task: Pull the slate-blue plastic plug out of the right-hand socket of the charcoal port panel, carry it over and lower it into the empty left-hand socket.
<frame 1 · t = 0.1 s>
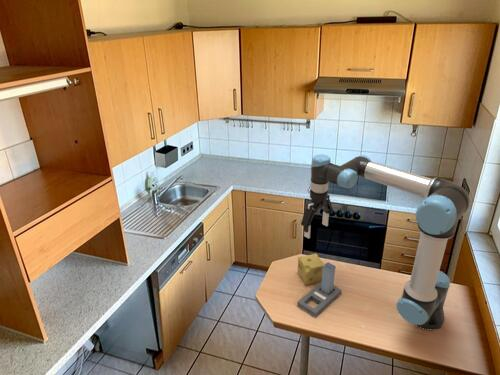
hand: (316, 230, 172), 28 cm above the table, fingers open, 13 cm apart
port panel: (319, 299, 172), on the table
cheese: (310, 277, 186), on the table
plug: (326, 293, 175), resting in port panel
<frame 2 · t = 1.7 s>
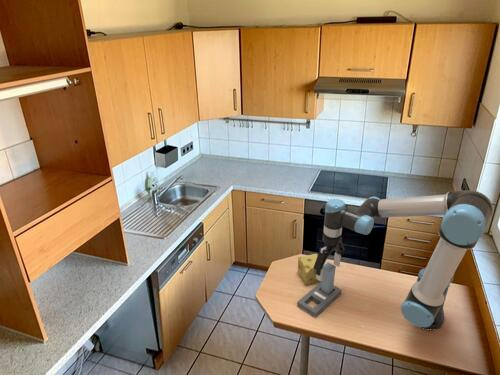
hand: (327, 272, 170), 12 cm above the table, fingers open, 13 cm apart
nothing on the table moved.
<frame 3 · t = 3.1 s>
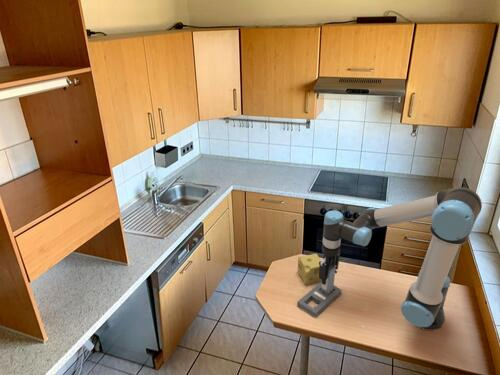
hand: (327, 285, 173), 5 cm above the table, fingers closed on plug, 4 cm apart
plug: (326, 293, 175), resting in port panel, touching gripper
everything else where it was.
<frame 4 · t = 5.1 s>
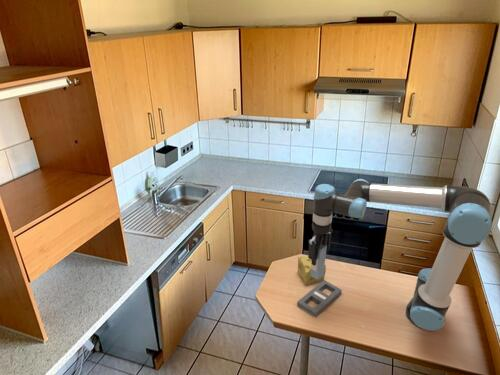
hand: (317, 267, 161), 20 cm above the table, fingers closed on plug, 4 cm apart
plug: (317, 275, 163), point 15 cm above the table, touching gripper
everything else where it was.
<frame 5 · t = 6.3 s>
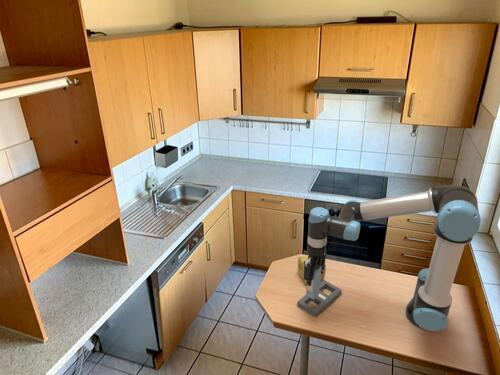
hand: (313, 287, 163), 11 cm above the table, fingers closed on plug, 4 cm apart
plug: (312, 295, 166), point 6 cm above the table, touching gripper
everything else where it was.
when the fingers open (6 cm above the table, at t = 7.4 s): plug drops 1 cm, resting in port panel.
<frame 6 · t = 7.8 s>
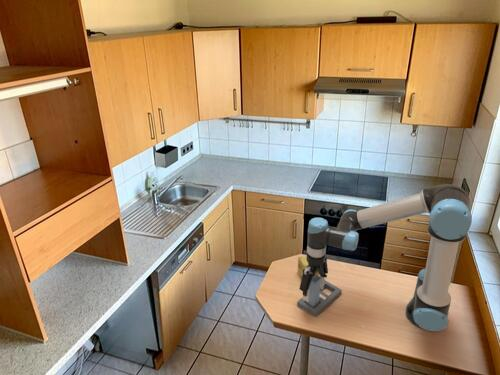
hand: (313, 293, 165), 7 cm above the table, fingers open, 10 cm apart
plug: (312, 306, 168), resting in port panel
everything else where it was.
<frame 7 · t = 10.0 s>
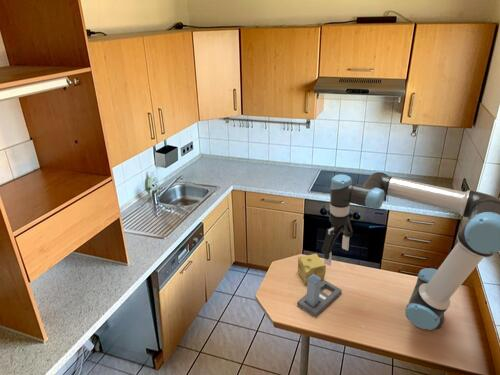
hand: (336, 256, 158), 26 cm above the table, fingers open, 13 cm apart
nothing on the table moved.
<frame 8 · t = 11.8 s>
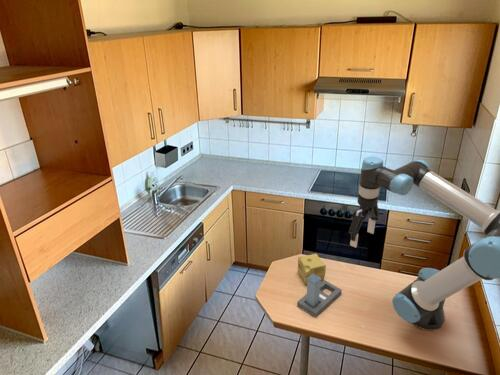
hand: (362, 239, 159), 32 cm above the table, fingers open, 13 cm apart
nothing on the table moved.
at the end: plug 0.0 cm from the target spot on the port panel, point 0.0 cm above the port panel's base; plug tilted 0°; the gripper is holding nothing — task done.
